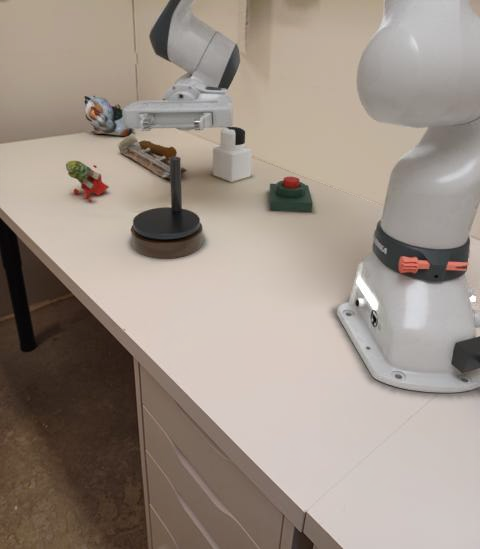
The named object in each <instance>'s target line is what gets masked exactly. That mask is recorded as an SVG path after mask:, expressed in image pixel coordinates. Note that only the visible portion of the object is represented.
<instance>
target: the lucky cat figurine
mask: <svg viewBox="0 0 480 549" xmlns="http://www.w3.org/2000/svg"><path fill="white" fill-rule="evenodd" d="M83 97H84V104H85V108H84V113H85V119H86V120H87V122H88V123H89V124H90V125H91V126H92V127H93V131H94V134H95V135H102V134H103V135H113V136H118V137H124V138H126V137H128V136H129V135H131V134H132V133H134V132H135V129H130V128H127V127H126V126H125V123H124V118H123V109H122V108H121V105H120V104H119V103H116V104H115V106H113V105H111V103H110V102H109V101H108V99H106V98H105V97H101V96H100V97H96V96H95V95H94V94H91V95H89V96H87V95H84V96H83Z"/></svg>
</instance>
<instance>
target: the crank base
mask: <svg viewBox="0 0 480 549" xmlns="http://www.w3.org/2000/svg"><path fill="white" fill-rule="evenodd" d="M203 228H204V227H203V225H202V223H201V222H200V226H199V229H198V230H197V231H196V232H194V233H193V234H191V235H188V236H186V237H182V238H177V239H153V238H148V237H145V236H142V235H140V234H138V233H137V232H136V231H135V230H134V227H133V224H132V225H131V228H130V235H131V246H132V248H133V250H135V252H136V253H138V254H140V255H142V256H145V257H149V258H152V259H153V258H154V259H161V260H162V259H163V260H164V259H165V260H167V259H168V260H169V259H177V258H182V257H187V256H189V255H192V254H194V253H196V252H197V251H199V250H200V249H201V248H202V246H203V241H204V240H203V239H204V238H203V236H204V235H203V234H204V232H203Z"/></svg>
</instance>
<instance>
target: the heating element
mask: <svg viewBox="0 0 480 549" xmlns="http://www.w3.org/2000/svg"><path fill="white" fill-rule="evenodd" d="M139 142H140V141H139V140H138V139H137V137H136V136H135V135H134V132H132V133H131V134H130V135H128V136H126V137H124V139H122V141H120V142H118V143H117V147H118V150H119V152H120V153H121V154H122V155H124V156H125V157H127V158H130V159H132V160H133V161H135V162H137V163H138V164H140V165H141V166H143V167H145V169H147V170H150V171H151V172H152V173H153V174H155V175H156V176H158V177H161V178H164V179H166V178H168V179H170V163H169V159H167V158H166V156H163V155H161V157H159V156H158V157H157V156H156V155H154V153H153V152H151V150H150V148H147V149H142V148H141V146H140V144H139ZM187 171H188V169H185V167H184V166H181V176H182V175H183V174H184V173H186V172H187Z"/></svg>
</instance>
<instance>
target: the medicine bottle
mask: <svg viewBox="0 0 480 549" xmlns="http://www.w3.org/2000/svg"><path fill="white" fill-rule="evenodd" d="M245 146H246V131H245V129H243V128H242V127H238V126H231V127H223V128H222V129H221V130H220V145H219V146H216V147H215V146H214V147H213V148H212V175H213V176H215V177H217V178H219V179H223V180H225V181H228V182H229V183H233V182H237V181H239V180H243V179H247V178H250V177H251V176H252V161H253V160H252V157H253V149H252V148H248V147H245Z"/></svg>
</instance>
